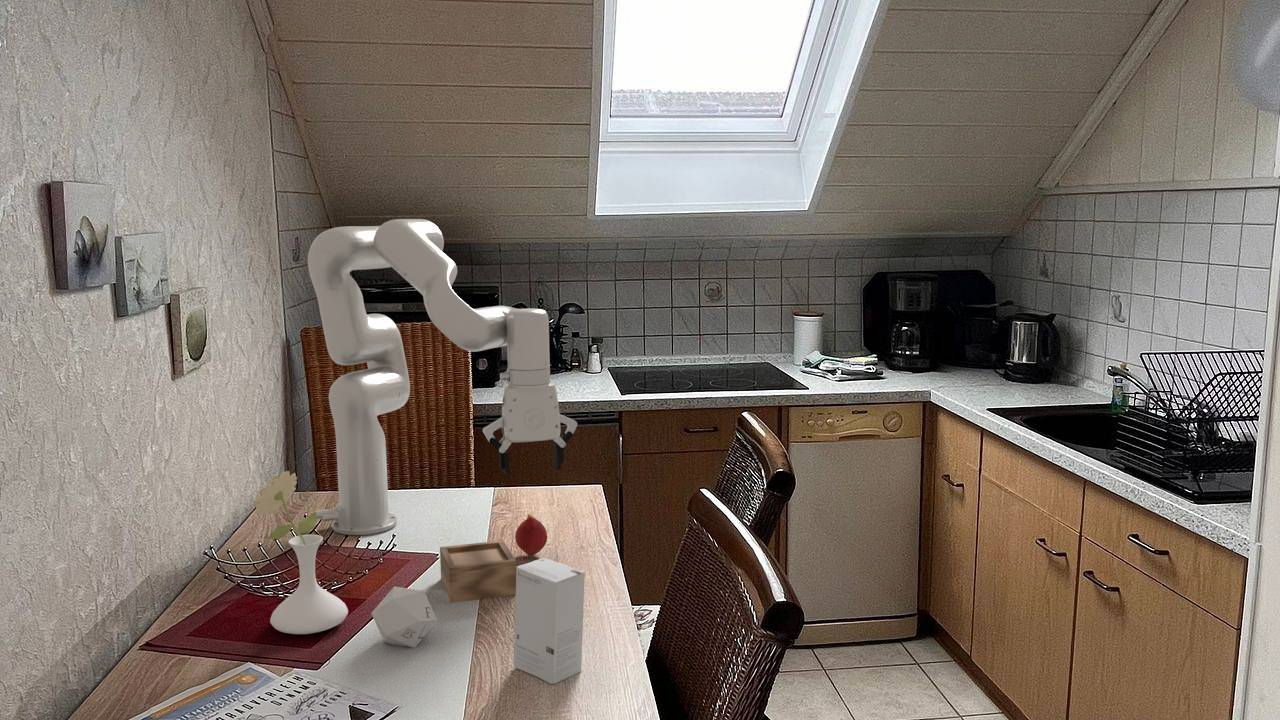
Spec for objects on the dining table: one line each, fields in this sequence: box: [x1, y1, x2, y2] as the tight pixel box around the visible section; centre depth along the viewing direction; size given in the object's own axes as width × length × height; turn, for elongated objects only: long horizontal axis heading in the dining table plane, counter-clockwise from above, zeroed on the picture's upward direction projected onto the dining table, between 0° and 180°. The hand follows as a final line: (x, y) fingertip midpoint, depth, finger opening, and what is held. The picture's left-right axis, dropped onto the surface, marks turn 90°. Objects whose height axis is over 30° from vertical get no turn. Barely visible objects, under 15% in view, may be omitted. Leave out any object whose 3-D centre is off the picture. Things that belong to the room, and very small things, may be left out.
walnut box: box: [439, 539, 517, 604], centre depth 169 cm, size 11×11×6 cm
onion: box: [514, 513, 548, 557], centre depth 184 cm, size 6×6×8 cm
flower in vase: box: [252, 470, 349, 635], centre depth 151 cm, size 13×11×25 cm
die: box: [371, 585, 438, 649], centre depth 147 cm, size 8×9×10 cm
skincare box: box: [513, 557, 586, 685], centre depth 137 cm, size 8×6×15 cm
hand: (531, 470), depth 182 cm, fingers open, 9 cm apart
